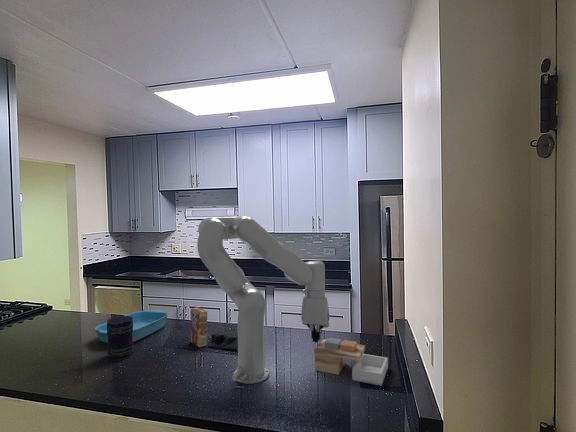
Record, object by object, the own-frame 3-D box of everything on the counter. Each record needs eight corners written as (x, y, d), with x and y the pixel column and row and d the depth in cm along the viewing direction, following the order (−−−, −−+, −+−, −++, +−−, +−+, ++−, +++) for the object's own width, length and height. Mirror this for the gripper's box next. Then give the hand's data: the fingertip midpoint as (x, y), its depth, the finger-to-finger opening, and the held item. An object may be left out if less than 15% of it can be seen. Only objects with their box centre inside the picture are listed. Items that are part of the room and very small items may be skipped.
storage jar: (123, 361, 137) (122, 324, 137) (101, 359, 139) (100, 322, 139) (138, 351, 147) (138, 316, 147) (118, 349, 149) (117, 315, 149)
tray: (381, 385, 116) (381, 374, 116) (352, 380, 120) (352, 368, 120) (387, 368, 129) (387, 357, 129) (361, 363, 133) (360, 353, 133)
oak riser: (358, 379, 121) (358, 356, 121) (314, 370, 128) (314, 349, 127) (365, 366, 131) (365, 345, 131) (323, 358, 138) (323, 339, 137)
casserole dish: (140, 320, 189) (140, 307, 189) (176, 323, 183) (175, 310, 183) (84, 346, 154) (83, 330, 154) (125, 351, 148) (125, 334, 148)
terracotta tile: (353, 352, 124) (353, 346, 124) (340, 350, 126) (340, 344, 126) (356, 347, 129) (356, 341, 129) (343, 345, 131) (343, 339, 131)
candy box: (208, 345, 153) (207, 311, 153) (199, 347, 150) (198, 312, 150) (199, 339, 160) (199, 306, 160) (190, 342, 157) (190, 308, 157)
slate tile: (337, 349, 127) (337, 344, 127) (324, 347, 129) (324, 342, 129) (341, 344, 131) (341, 339, 131) (328, 342, 134) (328, 337, 133)
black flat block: (246, 356, 142) (246, 345, 142) (204, 347, 151) (204, 337, 151) (265, 343, 156) (265, 333, 155) (225, 336, 165) (225, 326, 165)
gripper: (293, 294, 132) (294, 341, 133) (331, 297, 126) (331, 347, 127) (300, 289, 139) (301, 335, 140) (336, 292, 133) (337, 340, 133)
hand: (315, 340), depth 133 cm, fingers closed
